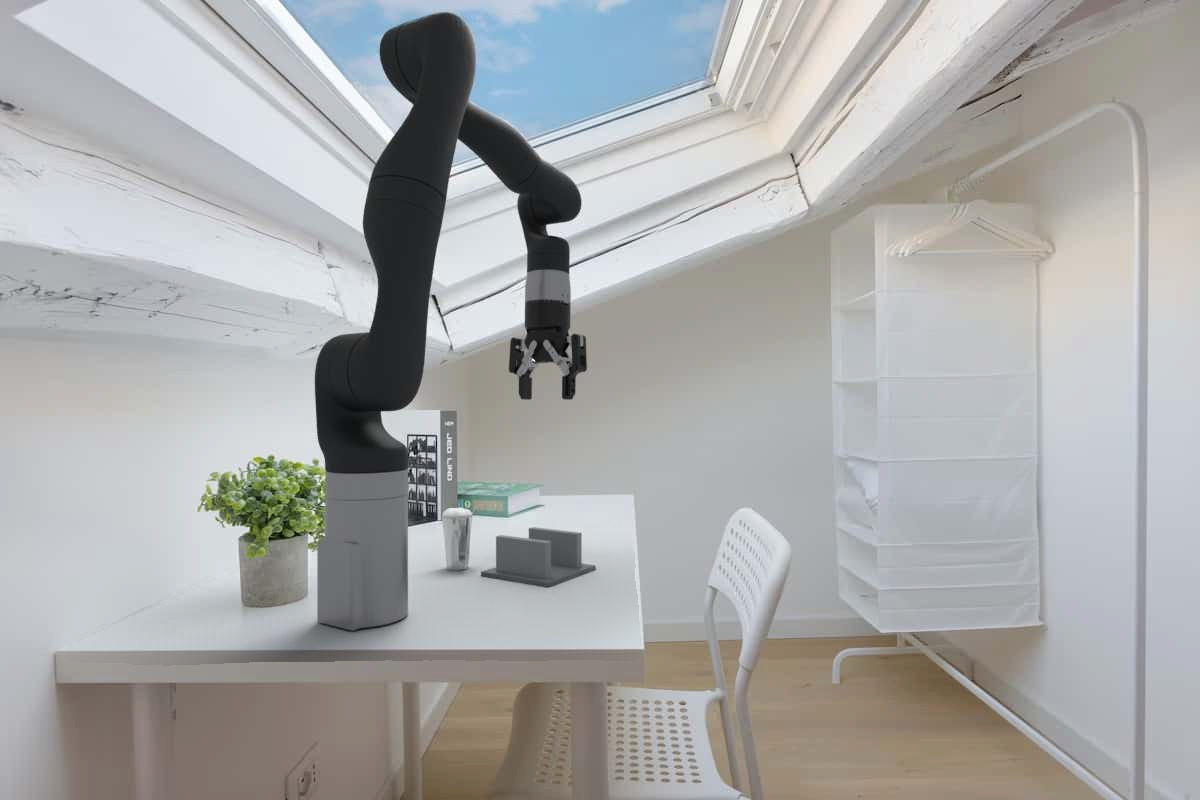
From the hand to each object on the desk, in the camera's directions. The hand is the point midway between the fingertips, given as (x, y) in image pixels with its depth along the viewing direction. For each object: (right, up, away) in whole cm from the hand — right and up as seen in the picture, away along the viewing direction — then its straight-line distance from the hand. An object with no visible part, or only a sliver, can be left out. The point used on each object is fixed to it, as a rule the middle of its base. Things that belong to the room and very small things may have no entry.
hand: (546, 399), depth 117 cm
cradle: (0, -26, -12) cm, 28 cm away
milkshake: (-12, -26, -9) cm, 30 cm away
